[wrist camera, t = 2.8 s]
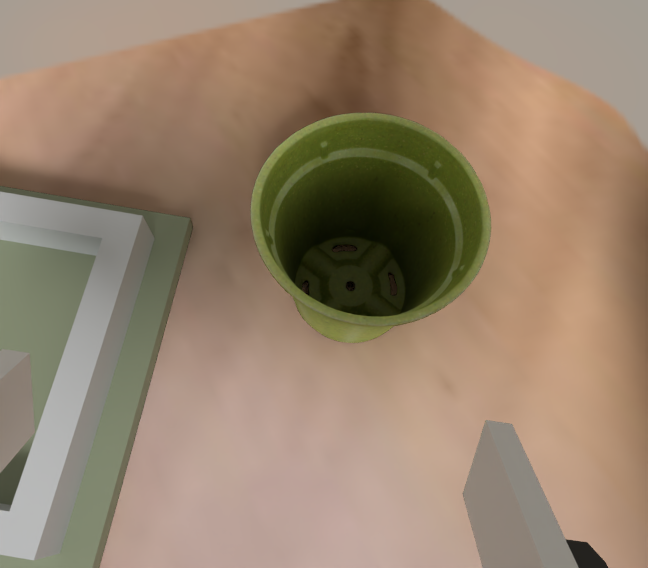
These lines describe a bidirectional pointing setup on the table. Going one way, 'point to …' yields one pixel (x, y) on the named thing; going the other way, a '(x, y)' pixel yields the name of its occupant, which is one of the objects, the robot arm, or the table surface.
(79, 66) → the table surface
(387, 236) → the plant pot
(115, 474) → the grey green square tray
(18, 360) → the robot arm
